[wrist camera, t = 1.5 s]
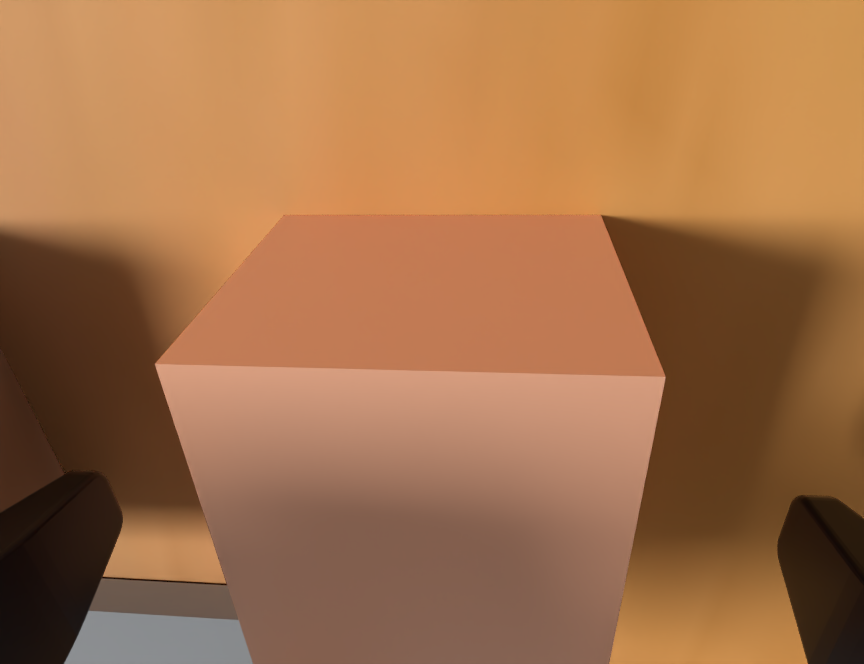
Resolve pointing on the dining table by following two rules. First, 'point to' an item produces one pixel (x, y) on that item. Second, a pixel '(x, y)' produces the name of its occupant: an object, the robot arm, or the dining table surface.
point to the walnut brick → (21, 444)
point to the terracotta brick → (421, 437)
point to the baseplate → (160, 625)
